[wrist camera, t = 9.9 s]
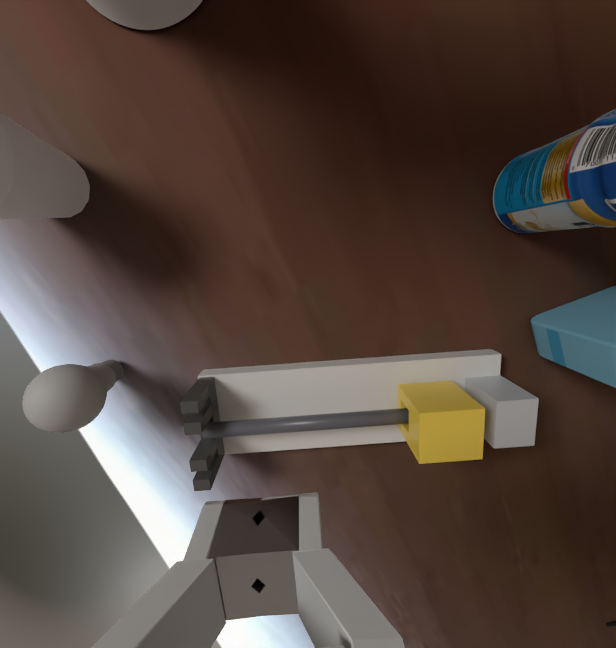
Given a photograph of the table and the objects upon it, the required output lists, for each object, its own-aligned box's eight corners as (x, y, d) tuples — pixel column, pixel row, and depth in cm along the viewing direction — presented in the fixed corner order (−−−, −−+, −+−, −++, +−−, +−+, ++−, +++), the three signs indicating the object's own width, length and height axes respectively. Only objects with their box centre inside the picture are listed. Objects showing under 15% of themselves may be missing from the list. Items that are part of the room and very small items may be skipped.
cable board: (203, 369, 37) (177, 400, 29) (490, 348, 37) (541, 373, 30) (214, 445, 39) (192, 492, 31) (486, 425, 39) (532, 467, 32)
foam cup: (0, 207, 33) (-188, 177, 20) (25, 118, 31) (-165, 24, 19) (89, 248, 34) (-37, 243, 21) (117, 164, 32) (-1, 105, 20)
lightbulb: (153, 371, 37) (93, 419, 26) (116, 401, 38) (43, 459, 27) (116, 331, 36) (37, 364, 25) (78, 363, 37) (-14, 408, 26)
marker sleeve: (397, 384, 35) (419, 413, 29) (451, 380, 35) (485, 408, 29) (398, 426, 36) (419, 463, 30) (450, 422, 36) (482, 459, 30)
